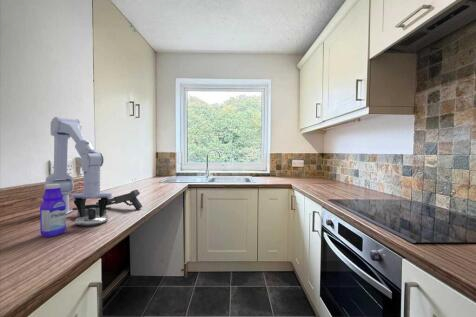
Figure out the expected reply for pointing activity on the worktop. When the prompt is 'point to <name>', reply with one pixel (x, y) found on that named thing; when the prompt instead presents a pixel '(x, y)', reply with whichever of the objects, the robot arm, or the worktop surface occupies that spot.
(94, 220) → the lid
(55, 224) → the bottle
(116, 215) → the worktop surface
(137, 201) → the handgun
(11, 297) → the worktop surface
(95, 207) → the pot
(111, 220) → the worktop surface
